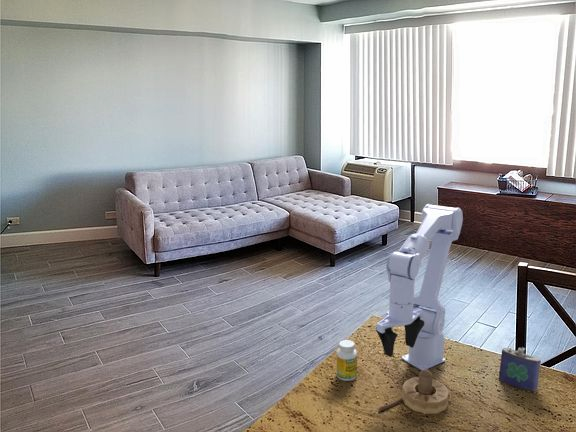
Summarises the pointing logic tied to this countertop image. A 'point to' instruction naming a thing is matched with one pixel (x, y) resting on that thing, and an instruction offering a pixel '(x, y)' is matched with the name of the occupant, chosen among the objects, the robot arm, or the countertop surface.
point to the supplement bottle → (346, 361)
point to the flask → (519, 369)
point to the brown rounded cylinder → (425, 382)
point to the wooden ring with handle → (422, 397)
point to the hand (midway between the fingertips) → (399, 350)
